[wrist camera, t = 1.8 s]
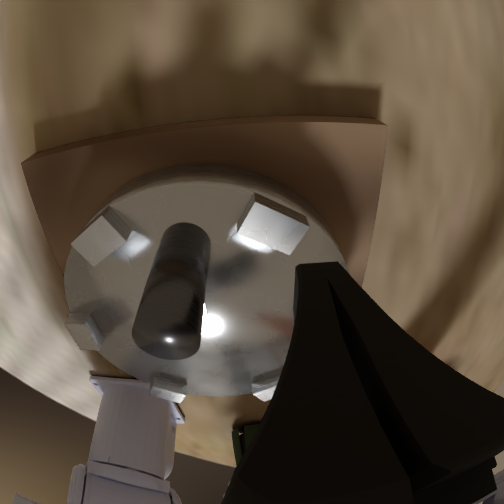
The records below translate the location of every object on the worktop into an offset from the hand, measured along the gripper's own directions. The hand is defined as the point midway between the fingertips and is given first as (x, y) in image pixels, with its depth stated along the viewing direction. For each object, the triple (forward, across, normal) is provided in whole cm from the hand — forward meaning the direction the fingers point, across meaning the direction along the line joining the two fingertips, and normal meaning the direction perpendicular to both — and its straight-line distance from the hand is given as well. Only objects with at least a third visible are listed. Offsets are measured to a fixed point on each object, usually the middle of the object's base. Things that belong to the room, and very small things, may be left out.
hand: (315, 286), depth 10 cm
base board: (+7, +5, +5) cm, 10 cm away
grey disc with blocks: (+5, +5, +5) cm, 9 cm away
